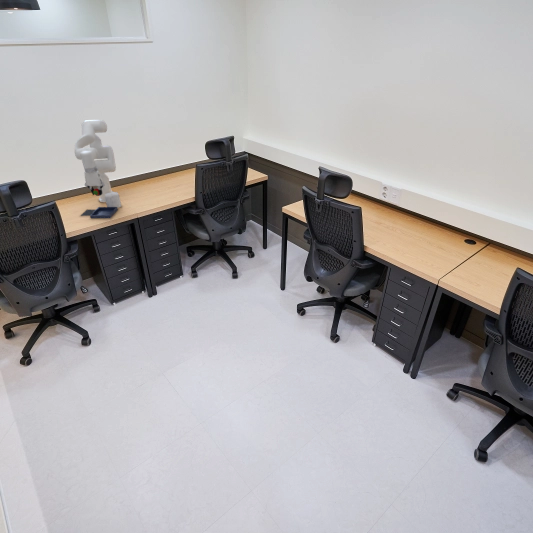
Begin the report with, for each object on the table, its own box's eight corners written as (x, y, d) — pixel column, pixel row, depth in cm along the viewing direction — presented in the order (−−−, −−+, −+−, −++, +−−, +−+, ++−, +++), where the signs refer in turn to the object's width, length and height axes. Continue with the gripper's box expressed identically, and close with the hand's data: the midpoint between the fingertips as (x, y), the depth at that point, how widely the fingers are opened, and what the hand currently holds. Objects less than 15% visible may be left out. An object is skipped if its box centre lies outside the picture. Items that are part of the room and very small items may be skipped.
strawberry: (97, 192, 257) (95, 186, 255) (103, 192, 257) (101, 186, 255) (92, 196, 251) (91, 190, 248) (98, 196, 251) (97, 190, 248)
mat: (87, 210, 268) (87, 209, 268) (96, 210, 268) (96, 209, 268) (80, 216, 259) (80, 215, 259) (90, 216, 259) (89, 215, 259)
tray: (99, 210, 268) (98, 206, 267) (118, 210, 268) (117, 207, 267) (90, 218, 256) (89, 215, 254) (110, 218, 255) (109, 215, 254)
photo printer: (120, 205, 276) (117, 190, 269) (122, 207, 273) (118, 192, 266) (107, 208, 271) (103, 193, 264) (108, 210, 268) (104, 194, 261)
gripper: (104, 167, 246) (111, 192, 256) (80, 167, 246) (88, 192, 256) (100, 171, 240) (107, 196, 250) (75, 171, 240) (83, 196, 250)
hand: (97, 194), depth 253 cm, fingers closed on strawberry, 4 cm apart
